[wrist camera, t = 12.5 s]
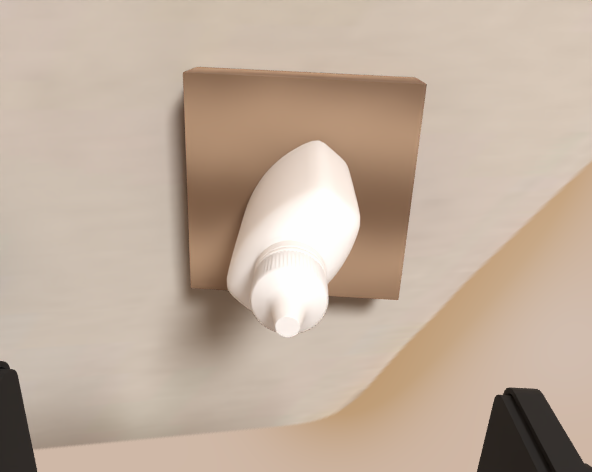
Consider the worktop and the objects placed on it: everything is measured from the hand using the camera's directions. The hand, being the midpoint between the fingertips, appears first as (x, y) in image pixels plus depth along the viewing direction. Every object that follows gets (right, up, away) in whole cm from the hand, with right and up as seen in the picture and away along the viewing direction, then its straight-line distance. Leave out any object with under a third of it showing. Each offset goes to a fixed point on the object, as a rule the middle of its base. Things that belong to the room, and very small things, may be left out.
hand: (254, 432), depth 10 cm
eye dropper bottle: (+1, +6, +16) cm, 17 cm away
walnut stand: (+1, +7, +18) cm, 20 cm away
